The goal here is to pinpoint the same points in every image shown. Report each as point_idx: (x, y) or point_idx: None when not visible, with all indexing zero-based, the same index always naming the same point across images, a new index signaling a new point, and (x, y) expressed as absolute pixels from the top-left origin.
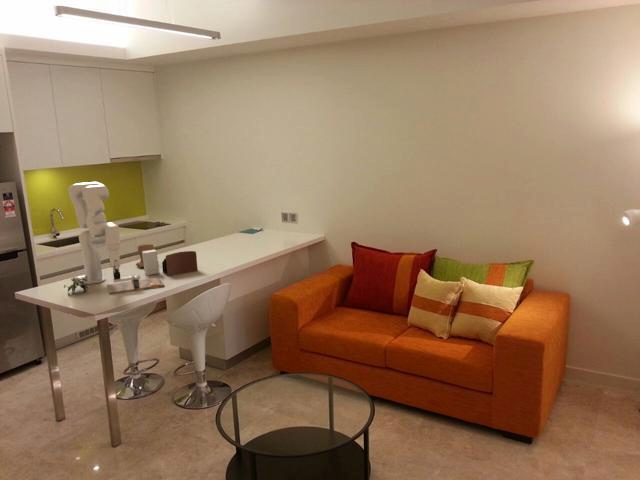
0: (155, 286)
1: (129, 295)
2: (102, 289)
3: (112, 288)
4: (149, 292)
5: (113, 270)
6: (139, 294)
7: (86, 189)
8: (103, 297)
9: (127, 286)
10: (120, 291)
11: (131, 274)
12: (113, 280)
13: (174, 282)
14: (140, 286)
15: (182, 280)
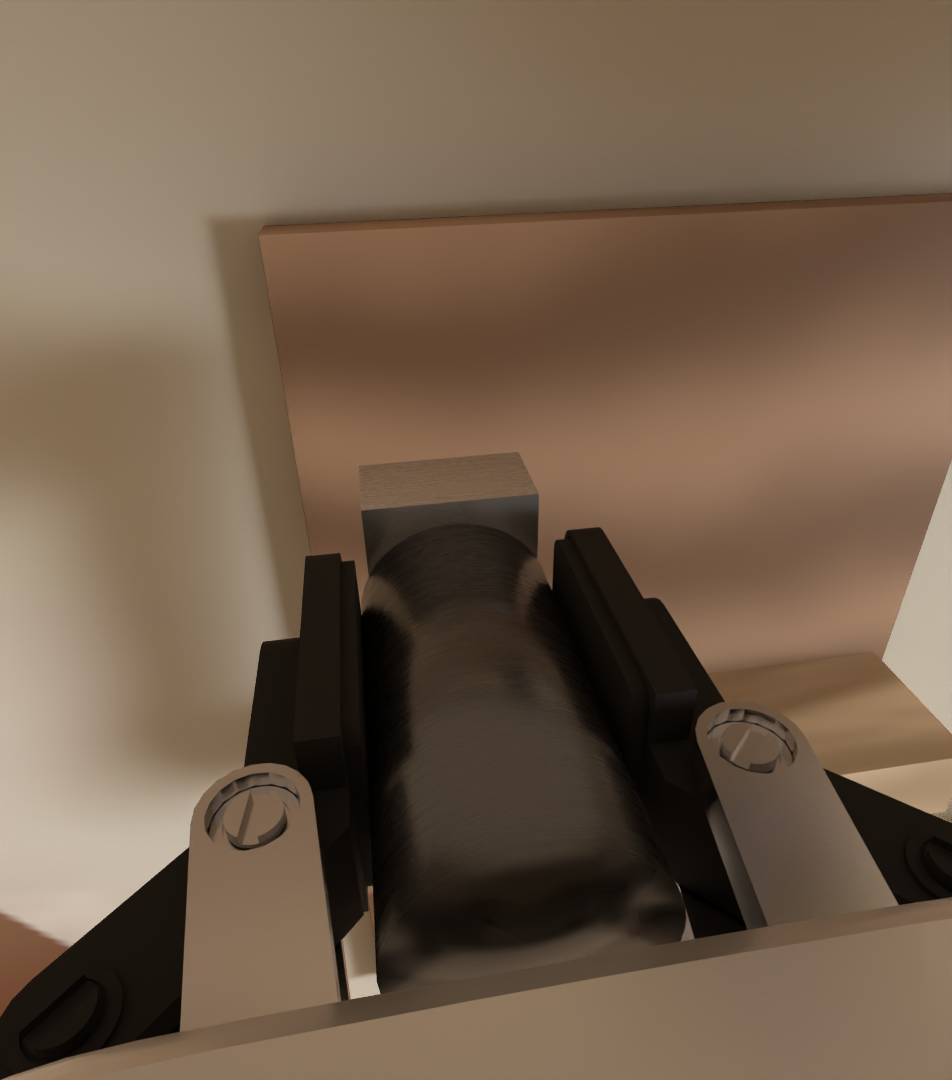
0: (372, 924)
1: (52, 616)
2: (863, 55)
3: (618, 320)
4: (152, 859)
5: (468, 792)
6: (73, 752)
7: None
8: (33, 32)
9: None
10: (301, 481)
11: (940, 766)
12: (509, 467)
13: None
14: None
15: None
